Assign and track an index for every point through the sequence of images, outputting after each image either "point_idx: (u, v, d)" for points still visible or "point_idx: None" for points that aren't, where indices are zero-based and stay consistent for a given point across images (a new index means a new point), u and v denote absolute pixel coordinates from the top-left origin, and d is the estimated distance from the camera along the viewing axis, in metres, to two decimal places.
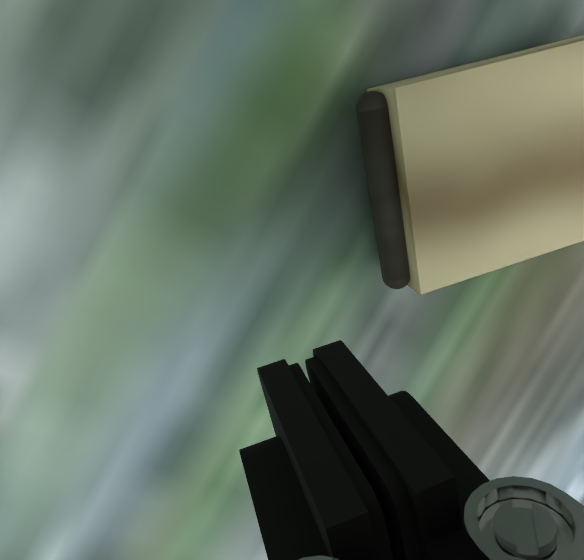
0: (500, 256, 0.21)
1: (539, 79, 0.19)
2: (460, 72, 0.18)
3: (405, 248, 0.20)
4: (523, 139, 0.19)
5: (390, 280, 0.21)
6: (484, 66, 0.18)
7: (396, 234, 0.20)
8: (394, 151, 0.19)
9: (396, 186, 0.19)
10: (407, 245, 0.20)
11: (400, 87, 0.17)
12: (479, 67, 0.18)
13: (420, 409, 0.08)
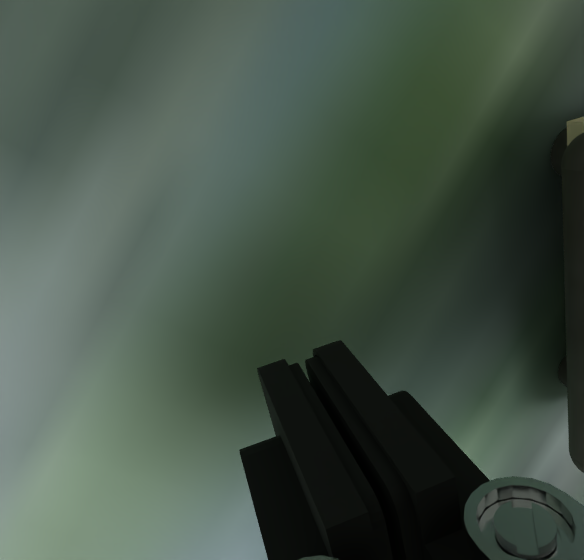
0: None
1: None
2: None
3: None
4: None
5: None
6: None
7: None
8: None
9: None
10: None
11: None
12: None
13: (419, 408, 0.08)
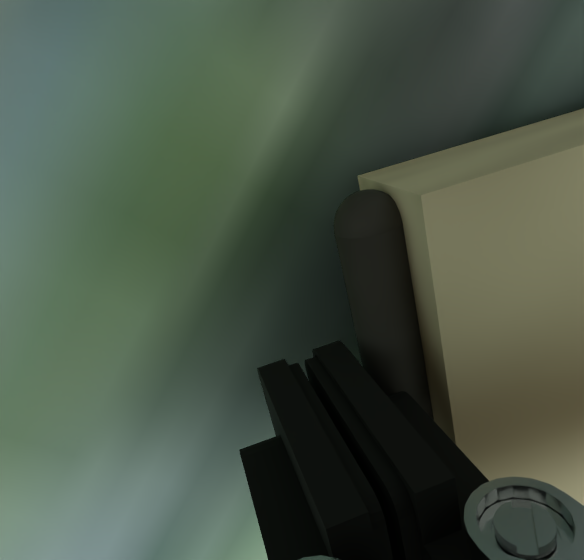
0: None
1: None
2: (569, 150, 0.08)
3: None
4: None
5: None
6: None
7: None
8: (419, 315, 0.09)
9: (423, 380, 0.09)
10: None
11: (433, 193, 0.07)
12: None
13: (420, 408, 0.08)
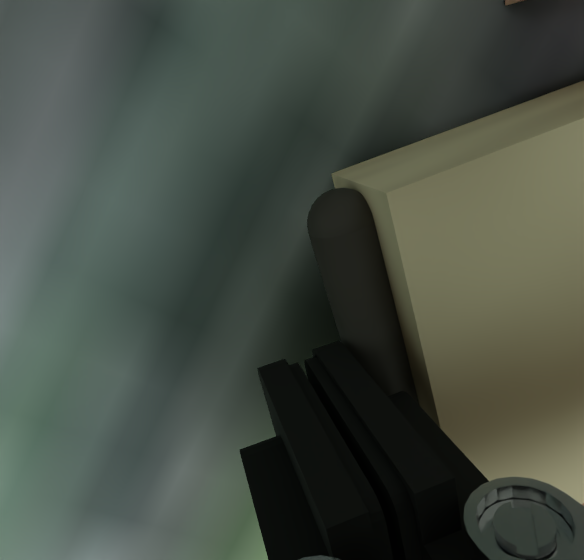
0: None
1: None
2: (535, 138, 0.08)
3: None
4: None
5: None
6: None
7: None
8: (397, 309, 0.09)
9: (406, 372, 0.09)
10: None
11: (399, 189, 0.07)
12: (576, 121, 0.08)
13: (419, 408, 0.08)
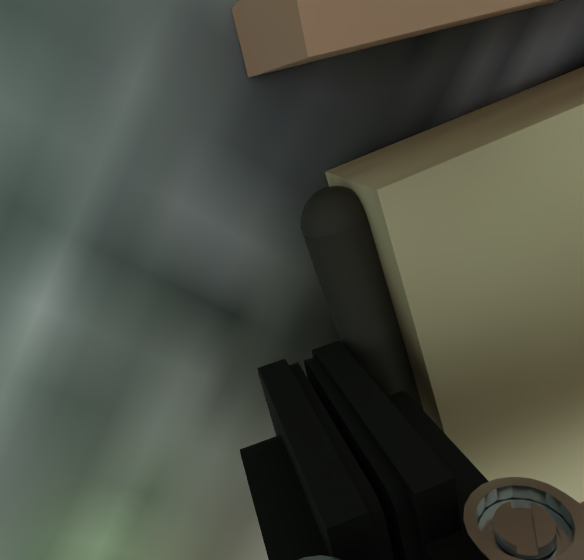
0: None
1: None
2: (528, 129, 0.08)
3: None
4: None
5: None
6: (581, 106, 0.08)
7: None
8: (395, 306, 0.09)
9: (406, 369, 0.09)
10: None
11: (390, 186, 0.07)
12: (570, 110, 0.08)
13: (419, 409, 0.08)
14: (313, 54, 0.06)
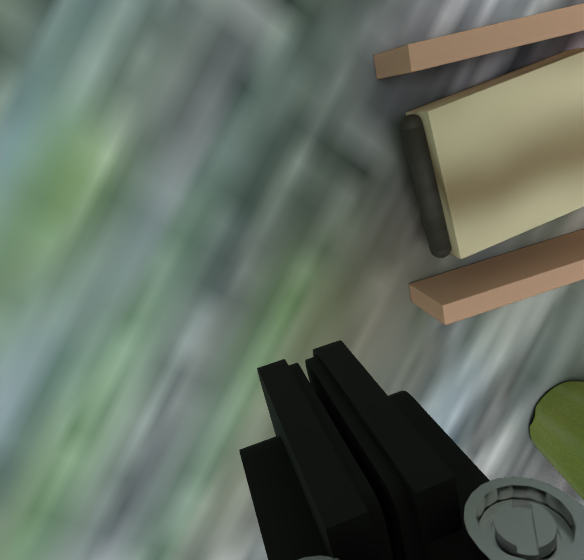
0: (518, 224, 0.28)
1: (532, 90, 0.26)
2: (473, 94, 0.25)
3: (445, 226, 0.27)
4: (525, 135, 0.26)
5: (436, 251, 0.28)
6: (490, 87, 0.25)
7: (438, 216, 0.27)
8: (431, 155, 0.26)
9: (434, 180, 0.26)
10: (447, 223, 0.27)
11: (431, 110, 0.25)
12: (487, 89, 0.25)
13: (419, 408, 0.08)
14: (412, 71, 0.23)
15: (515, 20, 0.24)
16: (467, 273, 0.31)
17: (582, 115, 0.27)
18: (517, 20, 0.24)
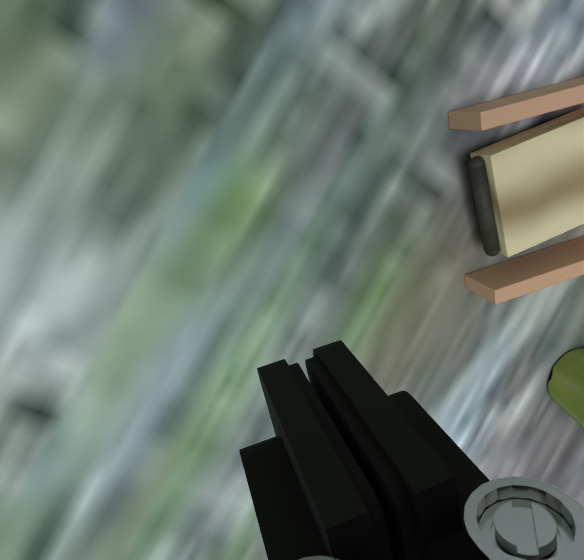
0: (548, 232, 0.39)
1: (561, 139, 0.36)
2: (521, 143, 0.36)
3: (497, 233, 0.38)
4: (555, 170, 0.37)
5: (490, 251, 0.39)
6: (532, 138, 0.36)
7: (492, 226, 0.38)
8: (489, 185, 0.37)
9: (491, 202, 0.37)
10: (498, 231, 0.38)
11: (492, 155, 0.35)
12: (530, 139, 0.36)
13: (419, 407, 0.08)
14: (482, 130, 0.34)
15: (551, 94, 0.35)
16: (508, 267, 0.42)
17: None
18: (553, 94, 0.35)
